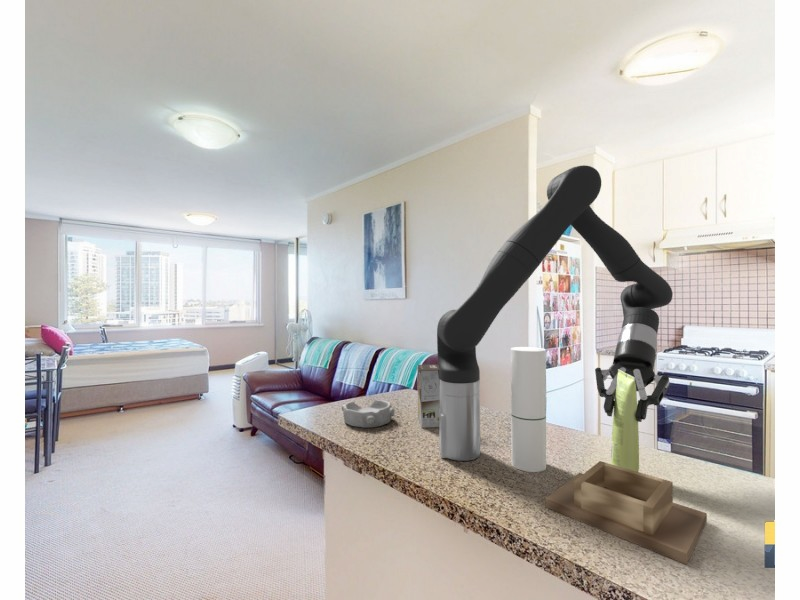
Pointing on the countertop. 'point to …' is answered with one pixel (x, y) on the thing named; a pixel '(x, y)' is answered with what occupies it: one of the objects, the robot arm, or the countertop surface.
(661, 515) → the wooden box on board
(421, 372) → the coffee box
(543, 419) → the cylindrical container
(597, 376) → the robot arm
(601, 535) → the countertop surface
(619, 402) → the tube
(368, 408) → the dish
